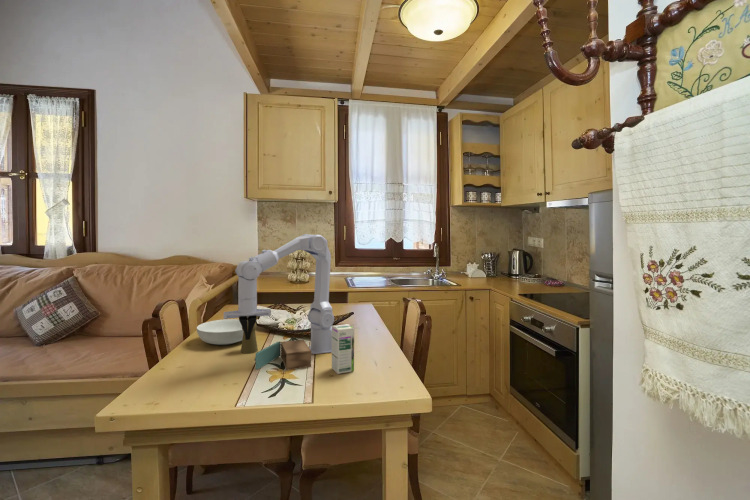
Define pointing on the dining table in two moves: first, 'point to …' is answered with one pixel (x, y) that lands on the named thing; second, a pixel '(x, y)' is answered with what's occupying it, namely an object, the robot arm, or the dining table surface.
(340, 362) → the syrup box
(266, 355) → the teal door
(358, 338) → the dining table surface
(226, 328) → the serving bowl
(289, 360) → the walnut cabinet
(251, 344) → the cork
